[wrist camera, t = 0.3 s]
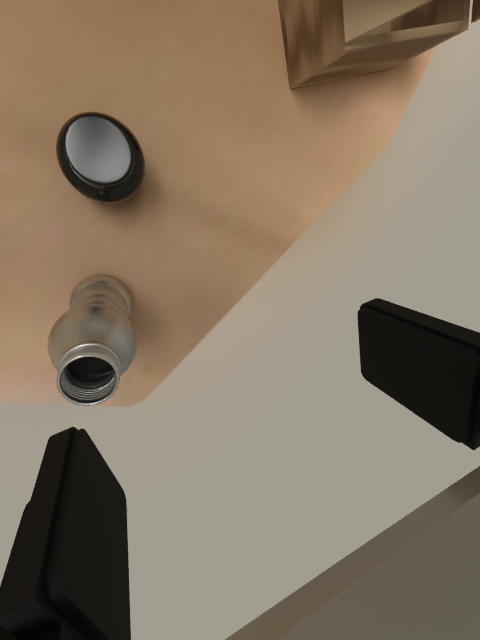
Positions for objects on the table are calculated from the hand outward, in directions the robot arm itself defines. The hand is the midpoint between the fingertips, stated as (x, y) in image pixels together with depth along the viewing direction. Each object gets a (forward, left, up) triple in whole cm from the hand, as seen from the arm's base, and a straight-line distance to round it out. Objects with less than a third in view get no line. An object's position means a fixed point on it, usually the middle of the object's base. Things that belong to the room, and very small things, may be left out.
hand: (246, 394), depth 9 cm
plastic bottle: (+3, -7, -31) cm, 32 cm away
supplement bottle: (-10, -1, -31) cm, 33 cm away
